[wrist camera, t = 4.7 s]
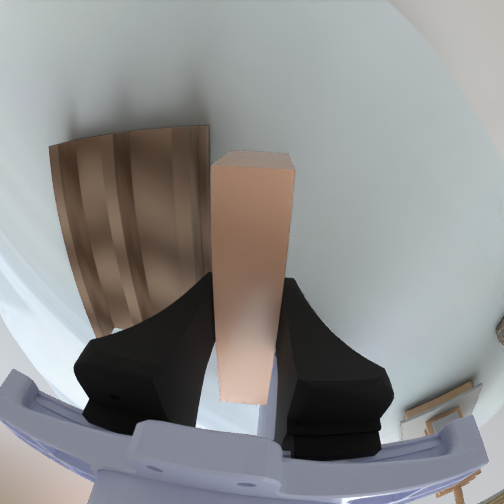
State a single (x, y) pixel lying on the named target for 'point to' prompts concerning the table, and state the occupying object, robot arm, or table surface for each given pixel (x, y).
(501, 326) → the brown rock
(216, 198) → the light brown long block
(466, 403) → the desk lamp
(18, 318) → the table surface
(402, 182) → the table surface
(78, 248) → the walnut rack
